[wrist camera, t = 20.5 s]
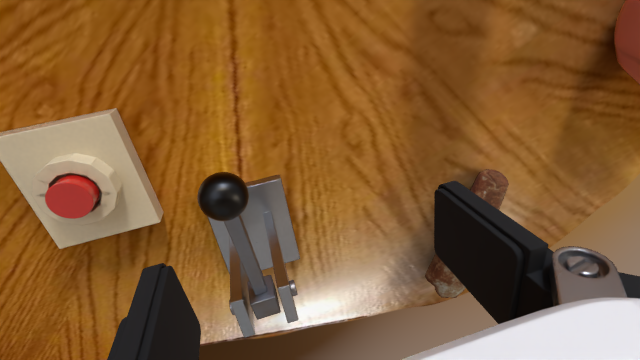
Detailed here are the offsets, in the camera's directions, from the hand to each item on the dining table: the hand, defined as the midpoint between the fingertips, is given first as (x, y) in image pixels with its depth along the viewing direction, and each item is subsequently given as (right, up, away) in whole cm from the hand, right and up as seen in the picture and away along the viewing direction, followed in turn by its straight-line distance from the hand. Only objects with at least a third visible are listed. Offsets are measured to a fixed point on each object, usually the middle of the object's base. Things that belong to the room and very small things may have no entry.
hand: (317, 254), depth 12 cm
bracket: (-8, -3, +29) cm, 31 cm away
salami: (+20, -4, +38) cm, 43 cm away
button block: (-23, +3, +22) cm, 32 cm away
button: (-22, +1, +19) cm, 29 cm away
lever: (-6, -2, +16) cm, 17 cm away
